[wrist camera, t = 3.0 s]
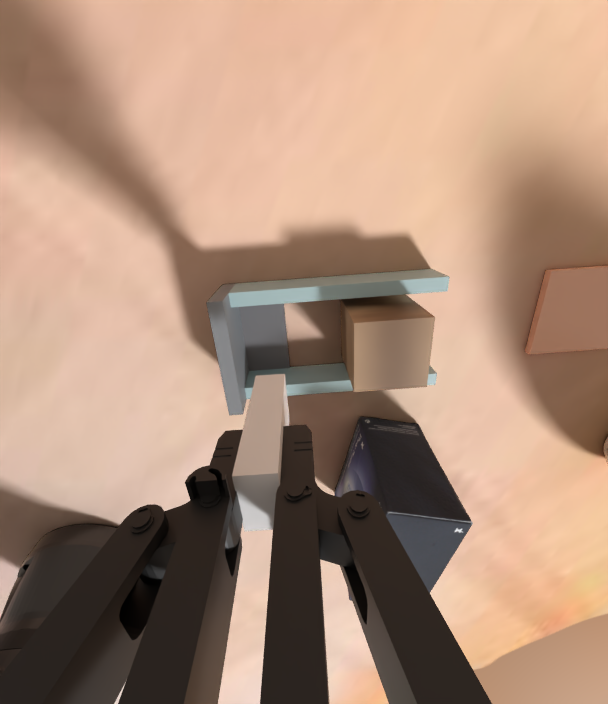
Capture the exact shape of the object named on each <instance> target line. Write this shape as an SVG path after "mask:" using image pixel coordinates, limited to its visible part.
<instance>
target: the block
mask: <svg viewBox="0 0 608 704" xmlns="http://www.w3.org/2000/svg"><path fill="white" fill-rule="evenodd" d="M434 322H435V317H434V316H433V315H432V314H430V313H429V312H428V311H426V310H425V309H424V308H422V307H421V306H420V305H418V304H417V303H416V302H415V301H413V300H412V299H411V298H409V297H408V296H407V295H405V294H403V295H390V296H377V297H363V298H350V299H341V355H342V358H343V361H344V364H345V367H346V370H347V373H348V376H349V379H350V382H351V385H352V388H353V391H354V392H363V391H376V390H390V389H403V388H416V387H427V382H428V373H429V364H430V356H431V347H432V339H433V330H434Z"/></svg>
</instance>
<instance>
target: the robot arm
mask: <svg viewBox="0 0 608 704" xmlns="http://www.w3.org/2000/svg"><path fill="white" fill-rule="evenodd" d="M185 484H186V487H187V490H188V493H189V496H190V501H189V502H188V503H186V504H184V505H182V506H179V507H176V508H173V509H170V510H168V511H165V512H164V510H163V509H162V507H160V506H158V505H146V506H143V507H140V508H138V509H137V510H135V511H133V512H132V513H131V514H130V515H129V516H127V517H126V518H125V519H124V521H123V522H122V523H121V524H120V526H119V527H118V528H114V527H109V526H103V525H94V524H81V525H72V526H66V527H62V528H59V529H56V530H54V531H52V532H50V533H48V534H46V535H45V536H44V537H42V538H41V539H40V540H39V542H38V543H37V544H36V546H35V547H34V548H33V550H32V551H31V552H30V554H29V555H28V556H27V557H26V559H25V560H24V562H23V564H22V565H21V568H20V570H19V573H18V578H17V580H16V582H15V584H14V586H13V588H12V591H11V593H10V595H9V598H8V600H7V603H6V605H5V608H4V610H3V613H2V615H1V618H0V704H114V703H115V701H116V699H117V697H118V695H119V693H120V691H121V689H122V687H123V685H124V684H125V686H124V689H123V692H122V695H121V697H120V700H119V703H118V704H218V698H219V691H220V685H221V679H222V672H223V666H224V659H225V653H226V647H227V640H228V634H229V627H230V621H231V615H232V608H233V602H234V595H235V589H236V583H237V576H238V570H239V563H240V557H241V551H242V540H241V536H240V534H241V528H242V523H243V527H244V531H257V530H273V538H272V552H271V565H270V579H269V592H268V605H267V619H266V632H265V646H264V659H263V673H262V686H261V699H260V704H329V691H328V676H327V660H326V644H325V629H324V613H323V597H322V582H321V566H320V559H321V560H325V561H328V562H331V563H335V564H338V565H340V567H341V570H342V573H343V575H344V578H345V581H346V584H347V587H348V589H349V592H350V595H351V598H352V601H353V603H354V606H355V609H356V612H357V615H358V617H359V620H360V623H361V626H362V629H363V632H364V634H365V637H366V640H367V643H368V646H369V648H370V651H371V654H372V657H373V660H374V662H375V665H376V668H377V671H378V674H379V676H380V679H381V682H382V685H383V688H384V690H385V693H386V696H387V699H388V702H389V704H492V703H491V701H490V700H489V698H488V696H487V694H486V692H485V691H484V689H483V687H482V685H481V684H480V682H479V680H478V678H477V677H476V675H475V673H474V671H473V669H472V668H471V666H470V664H469V662H468V661H467V659H466V657H465V655H464V653H463V652H462V650H461V648H460V646H459V645H458V643H457V641H456V639H455V638H454V636H453V634H452V632H451V630H450V629H449V627H448V625H447V623H446V622H445V620H444V618H443V616H442V615H441V613H440V611H439V609H438V607H437V606H436V604H435V602H434V600H433V599H432V597H431V595H430V593H429V592H428V590H427V588H426V586H425V584H424V583H423V581H422V579H421V577H420V576H419V574H418V572H417V570H416V568H415V567H414V565H413V563H412V561H411V560H410V558H409V556H408V554H407V553H406V551H405V549H404V547H403V545H402V544H401V542H400V540H399V538H398V537H397V535H396V533H395V531H394V530H393V528H392V526H391V524H390V522H389V521H388V519H387V517H386V515H385V514H384V512H383V510H382V508H381V507H380V505H379V503H378V501H377V500H376V499H375V498H374V497H373V496H372V495H370V494H369V493H367V492H365V491H360V490H353V491H349V492H347V493H345V494H343V495H342V497H337V496H333V495H330V494H327V493H325V492H324V491H322V490H321V489H320V488H319V487H318V486H317V484H316V482H315V476H314V461H313V447H312V433H311V431H310V429H309V428H308V427H307V425H294V426H289V409H288V399H287V390H286V381H285V374H274V375H259V376H256V377H255V381H254V385H253V390H252V394H251V398H250V402H249V406H248V411H247V415H246V419H245V423H244V427H243V430H231V431H225V432H224V433H223V435H222V436H221V437H220V438H219V439H218V442H217V445H216V448H215V451H214V454H213V458H212V460H211V463H210V466H205V467H202V468H199V469H197V470H195V471H194V472H193V473H192V474H191V475H189V477H188V478H187V480H186V481H185ZM126 680H127V681H126ZM125 682H126V683H125Z"/></svg>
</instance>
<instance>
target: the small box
mask: <svg viewBox="0 0 608 704" xmlns="http://www.w3.org/2000/svg"><path fill="white" fill-rule="evenodd" d="M353 490H360V491H365V492H367V493H369V494H370V495H372V496H373V497H374V498H375V499H376V500H377V501H378V503H379V505H380V507H381V508H382V510H383V512H384V514H385V515H386V517H387V519H388V521H389V522H390V524H391V526H392V528H393V530H394V531H395V533H396V535H397V537H398V538H399V540H400V542H401V544H402V545H403V547H404V549H405V551H406V553H407V554H408V556H409V558H410V560H411V561H412V563H413V565H414V567H415V568H416V570H417V572H418V574H419V576H420V577H421V579H422V581H423V583H424V584H425V586H426V588H427V590H428V592H429V593H430V592H431V590H432V589H433V587H434V585H435V584H436V582H437V580H438V579H439V577H440V576H441V574H442V572H443V571H444V569H445V568H446V566H447V564H448V563H449V561H450V559H451V558H452V556H453V555H454V553H455V551H456V550H457V548H458V546H459V545H460V543H461V542H462V540H463V538H464V537H465V535H466V534H467V532H468V530H469V529H470V527H471V526H472V524H473V523H472V521H471V519H470V517H469V516H468V514H467V513H466V511H465V509H464V507H463V505H462V504H461V502H460V500H459V498H458V496H457V494H456V493H455V491H454V489H453V487H452V485H451V484H450V482H449V480H448V478H447V476H446V475H445V473H444V471H443V469H442V468H441V466H440V464H439V462H438V461H437V458H436V457H435V455H434V453H433V451H432V449H431V448H430V446H429V444H428V442H427V440H426V438H425V436H424V434H423V432H422V430H421V428H420V426H419V425H418V424H415V423H405V422H397V421H390V420H383V419H379V418H370V417H359V420H358V423H357V426H356V429H355V432H354V435H353V438H352V441H351V444H350V447H349V450H348V453H347V456H346V459H345V462H344V465H343V468H342V472H341V475H340V478H339V481H338V484H337V487H336V490H335V496H337V497H342V495H343V494H345V493H347V492H349V491H353ZM348 592H349V589H348ZM349 600H351V601H352V598H351V595H350V592H349Z"/></svg>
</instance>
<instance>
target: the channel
mask: <svg viewBox="0 0 608 704" xmlns="http://www.w3.org/2000/svg"><path fill="white" fill-rule="evenodd" d="M448 284H449V276H447V275H445V274H442V273H440V272H438V271H435V270H433V269H422V270H409V271H395V272H382V273H369V274H355V275H342V276H328V277H315V278H302V279H288V280H275V281H262V282H248V283H235V284H223V285H222V286H221V287H220V288H219V289H218V290H217V291H216V292H215V293H214V294H213V296H212V297H211V298H210V299H209V300H208V301H207V302H206V304H207V308H208V313H209V318H210V323H211V328H212V333H213V338H214V343H215V348H216V352H217V357H218V362H219V367H220V372H221V377H222V382H223V387H224V392H225V396H226V401H227V406H228V411H229V415H239V414H243V412H244V408H245V404H246V399H250V398H251V394H252V390H253V385H254V381H255V377H256V376H259V375H274V374H285V381H286V390H287V396H293V395H306V394H319V393H332V392H345V391H353V388H352V385H351V382H350V379H349V376H348V373H347V370H346V367H345V364H344V363H335V364H321V365H308V366H295V367H290V363H289V353H288V342H287V332H286V322H285V312H284V303H297V302H310V301H323V300H337V299H350V298H363V297H377V296H390V295H403V294H417V293H430V292H443V291H448ZM436 376H437V373H436V372H435V371H434V370H433V369H432V367H431V366H430V365H429V373H428V382H427V385H435V384H436Z"/></svg>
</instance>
